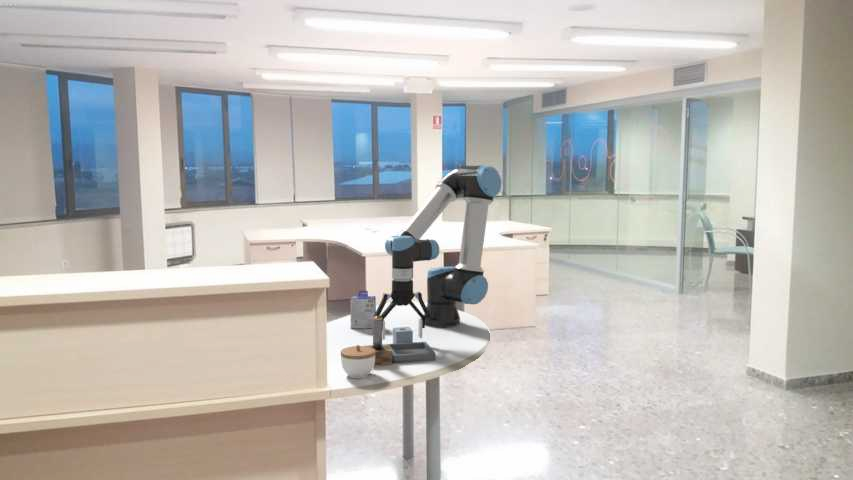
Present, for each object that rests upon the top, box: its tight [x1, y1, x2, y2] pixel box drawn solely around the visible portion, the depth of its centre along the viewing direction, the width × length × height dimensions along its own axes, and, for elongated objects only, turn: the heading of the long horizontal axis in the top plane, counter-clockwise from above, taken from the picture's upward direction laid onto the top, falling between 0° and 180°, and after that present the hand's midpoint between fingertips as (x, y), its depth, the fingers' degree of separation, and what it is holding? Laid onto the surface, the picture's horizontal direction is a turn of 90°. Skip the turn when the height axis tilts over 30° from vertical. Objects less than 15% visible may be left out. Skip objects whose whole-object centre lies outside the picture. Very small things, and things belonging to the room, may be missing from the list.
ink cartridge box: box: [349, 290, 377, 329], centre depth 258 cm, size 10×6×14 cm, turn 91°
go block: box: [366, 343, 393, 367], centre depth 214 cm, size 8×8×4 cm
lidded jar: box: [340, 344, 376, 379], centre depth 200 cm, size 11×11×9 cm
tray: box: [386, 341, 437, 364], centre depth 221 cm, size 14×14×2 cm
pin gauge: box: [372, 316, 383, 350], centre depth 213 cm, size 3×3×14 cm
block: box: [392, 326, 414, 344], centre depth 233 cm, size 6×6×6 cm
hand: (401, 338), depth 233 cm, fingers open, 13 cm apart
